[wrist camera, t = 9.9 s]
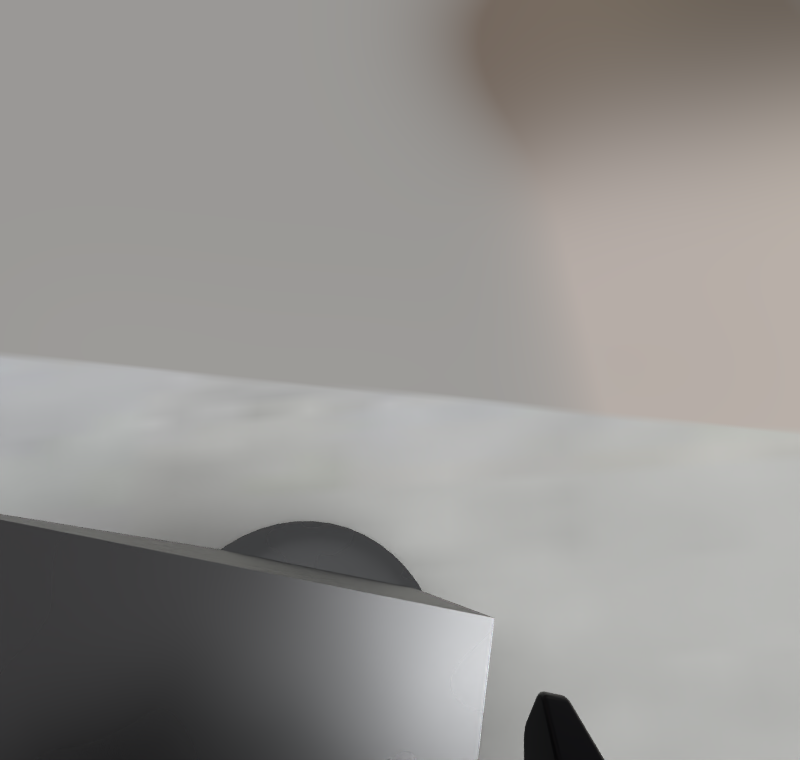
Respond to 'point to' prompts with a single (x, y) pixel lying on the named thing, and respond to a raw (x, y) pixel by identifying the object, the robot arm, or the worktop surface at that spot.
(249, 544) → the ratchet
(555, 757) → the robot arm
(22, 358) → the worktop surface
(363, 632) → the brushed metal block
